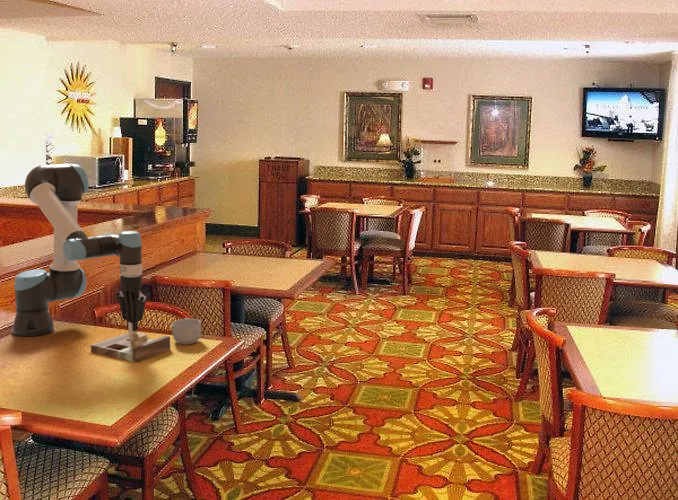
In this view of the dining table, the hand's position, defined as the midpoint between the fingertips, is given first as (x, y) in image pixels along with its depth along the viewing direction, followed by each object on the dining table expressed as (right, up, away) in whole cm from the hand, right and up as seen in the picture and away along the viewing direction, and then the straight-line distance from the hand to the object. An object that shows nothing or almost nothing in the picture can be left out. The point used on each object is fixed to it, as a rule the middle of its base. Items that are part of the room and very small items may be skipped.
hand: (132, 339), depth 271 cm
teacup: (+17, -3, +14) cm, 22 cm away
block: (+2, -2, -1) cm, 3 cm away
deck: (-1, -4, +1) cm, 5 cm away
